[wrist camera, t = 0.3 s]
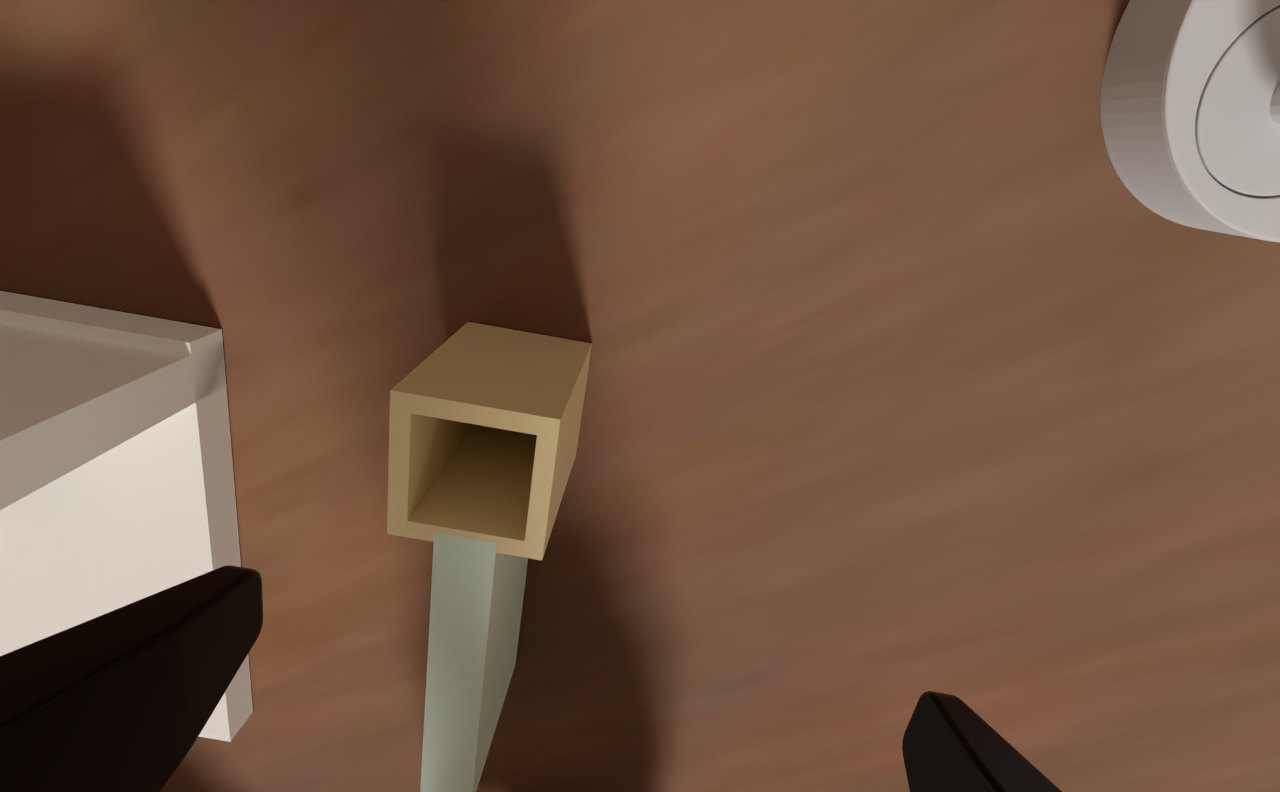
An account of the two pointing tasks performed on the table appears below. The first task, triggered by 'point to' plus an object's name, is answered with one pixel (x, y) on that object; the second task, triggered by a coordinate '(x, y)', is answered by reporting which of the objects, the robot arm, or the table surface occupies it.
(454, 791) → the square socket tool
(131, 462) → the l-shaped pin bracket
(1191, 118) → the wall hook
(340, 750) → the table surface
